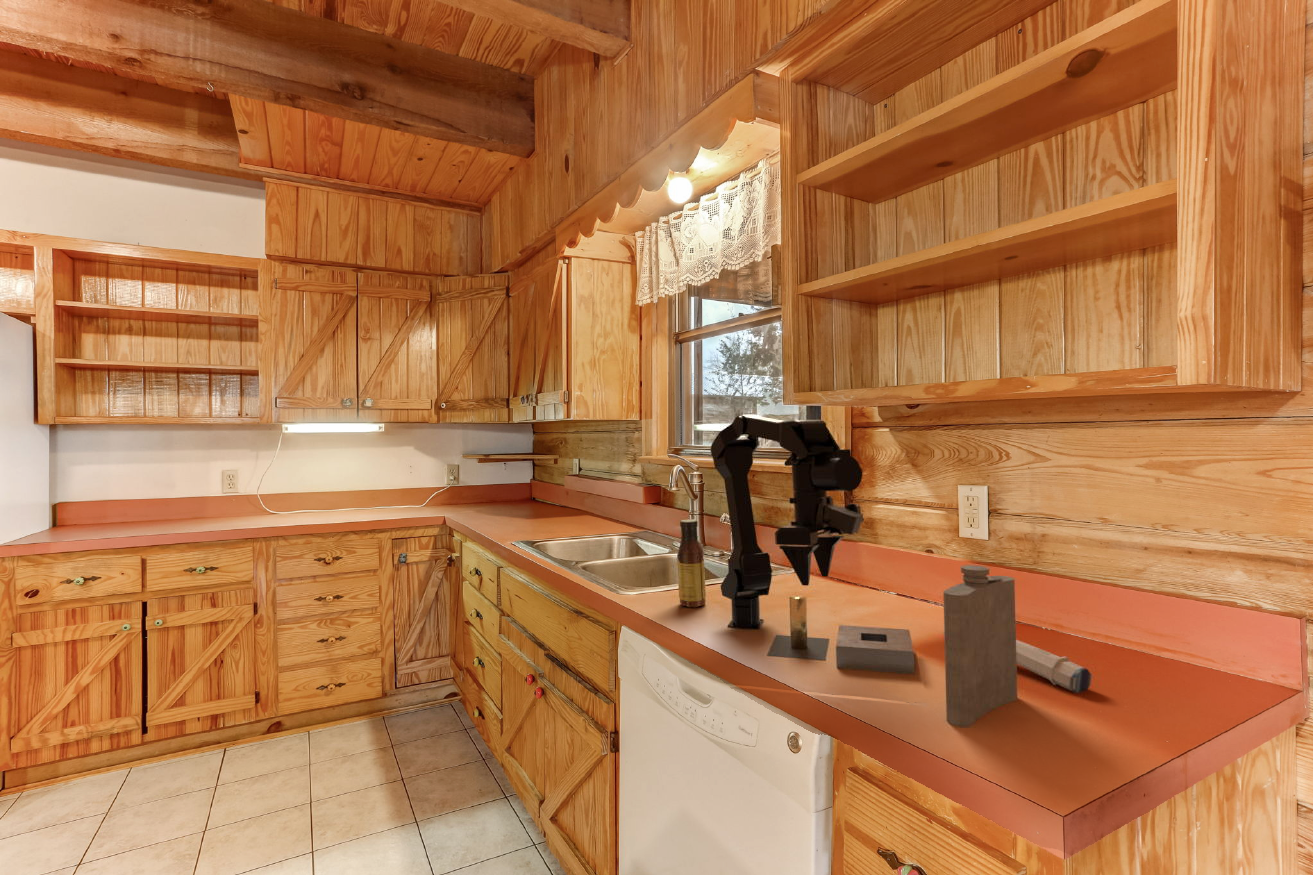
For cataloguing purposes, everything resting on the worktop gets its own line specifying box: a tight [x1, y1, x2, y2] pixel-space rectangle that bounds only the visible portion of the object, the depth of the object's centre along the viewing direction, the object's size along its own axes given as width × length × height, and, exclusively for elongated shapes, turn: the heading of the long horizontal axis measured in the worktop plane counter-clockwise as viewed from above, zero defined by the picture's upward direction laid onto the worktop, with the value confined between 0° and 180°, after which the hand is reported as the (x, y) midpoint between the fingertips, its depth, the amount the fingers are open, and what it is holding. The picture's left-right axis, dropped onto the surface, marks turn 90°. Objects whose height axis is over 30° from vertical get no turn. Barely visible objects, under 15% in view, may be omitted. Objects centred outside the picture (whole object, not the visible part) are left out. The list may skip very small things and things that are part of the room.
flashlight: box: [942, 629, 1093, 694], centre depth 106 cm, size 5×7×25 cm
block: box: [835, 624, 915, 675], centre depth 110 cm, size 12×12×4 cm
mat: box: [766, 634, 830, 661], centre depth 117 cm, size 12×10×1 cm
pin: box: [789, 595, 808, 650], centre depth 117 cm, size 3×3×9 cm
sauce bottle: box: [676, 518, 707, 608], centre depth 149 cm, size 6×6×20 cm
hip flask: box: [942, 564, 1018, 728], centre depth 90 cm, size 16×4×20 cm, turn 126°
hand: (815, 580), depth 111 cm, fingers open, 9 cm apart
